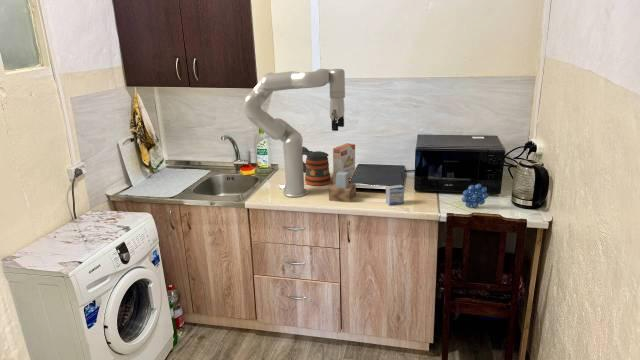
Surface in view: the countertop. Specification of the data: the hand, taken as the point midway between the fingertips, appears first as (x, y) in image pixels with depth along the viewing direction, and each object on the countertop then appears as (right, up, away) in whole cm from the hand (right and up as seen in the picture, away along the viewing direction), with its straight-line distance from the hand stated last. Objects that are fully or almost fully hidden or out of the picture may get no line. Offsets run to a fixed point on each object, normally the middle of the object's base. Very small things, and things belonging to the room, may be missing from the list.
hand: (338, 128), depth 238 cm
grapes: (+64, -39, -16) cm, 76 cm away
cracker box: (+5, -27, +26) cm, 38 cm away
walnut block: (+2, -35, +3) cm, 35 cm away
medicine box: (+28, -37, -7) cm, 47 cm away
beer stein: (-12, -27, +29) cm, 41 cm away
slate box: (+2, -29, +1) cm, 29 cm away
